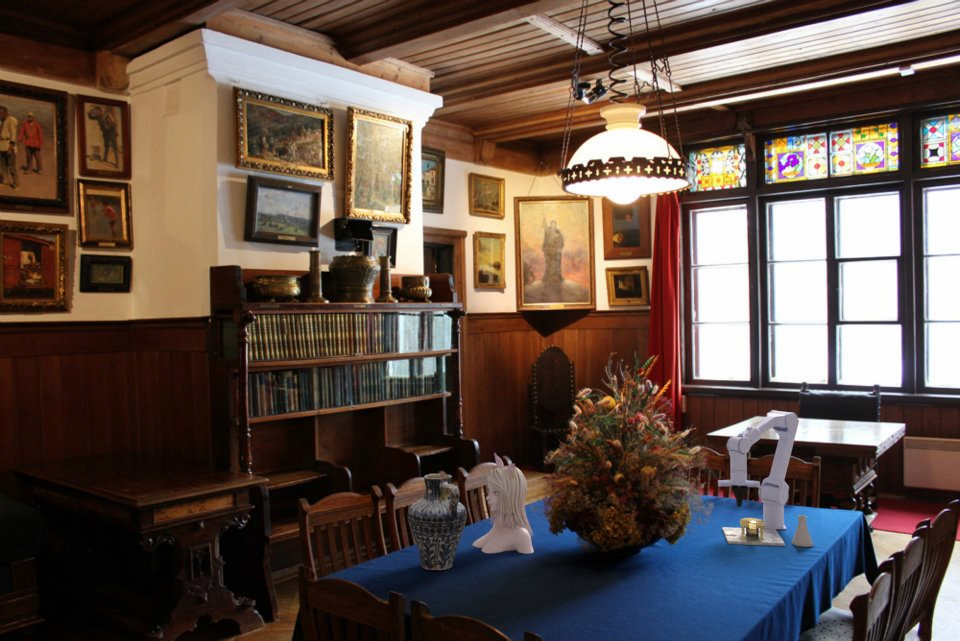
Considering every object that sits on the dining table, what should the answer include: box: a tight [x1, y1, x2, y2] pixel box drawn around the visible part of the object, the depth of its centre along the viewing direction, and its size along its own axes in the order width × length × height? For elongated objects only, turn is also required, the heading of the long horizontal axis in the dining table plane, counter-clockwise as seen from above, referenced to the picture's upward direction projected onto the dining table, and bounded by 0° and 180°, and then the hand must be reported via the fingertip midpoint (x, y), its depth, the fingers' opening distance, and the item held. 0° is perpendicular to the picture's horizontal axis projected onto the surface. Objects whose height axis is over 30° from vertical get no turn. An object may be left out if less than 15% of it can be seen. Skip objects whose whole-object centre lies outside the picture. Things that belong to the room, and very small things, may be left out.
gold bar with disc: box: [739, 517, 765, 535], centre depth 281 cm, size 15×8×5 cm, turn 162°
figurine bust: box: [471, 452, 534, 555], centre depth 281 cm, size 26×20×32 cm
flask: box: [791, 514, 814, 548], centre depth 275 cm, size 7×7×10 cm
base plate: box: [722, 526, 786, 547], centre depth 284 cm, size 18×19×4 cm
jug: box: [407, 472, 468, 571], centre depth 258 cm, size 21×19×30 cm
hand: (739, 506), depth 289 cm, fingers closed
